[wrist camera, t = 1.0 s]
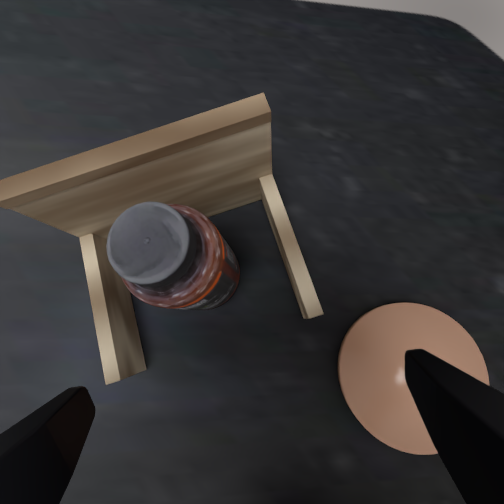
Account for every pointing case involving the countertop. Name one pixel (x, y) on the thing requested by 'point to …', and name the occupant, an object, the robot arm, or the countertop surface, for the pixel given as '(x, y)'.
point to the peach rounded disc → (399, 368)
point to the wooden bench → (164, 191)
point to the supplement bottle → (172, 257)
